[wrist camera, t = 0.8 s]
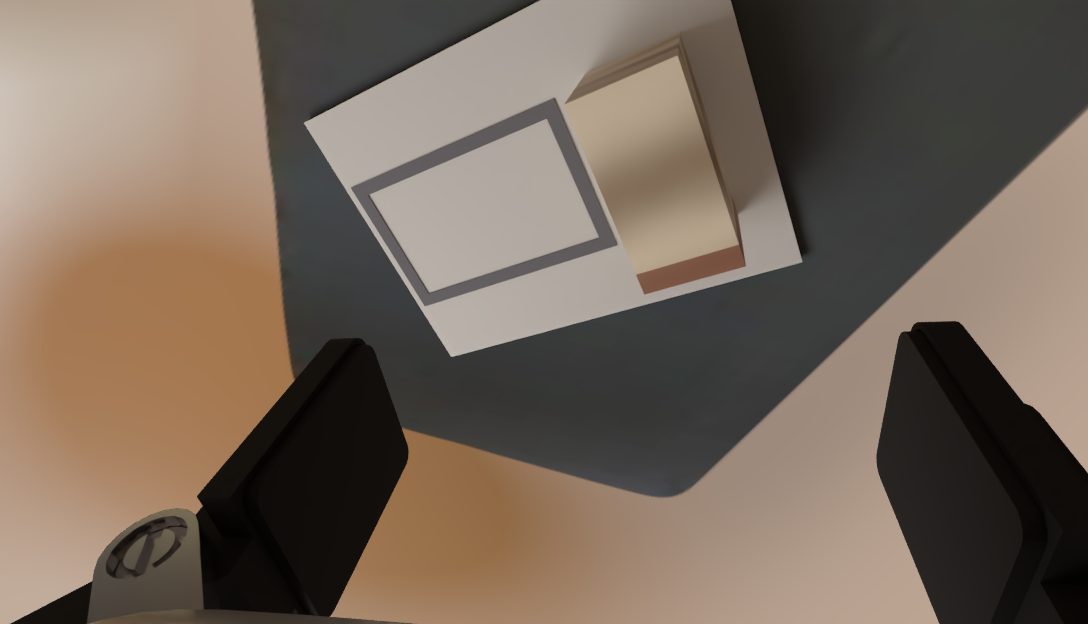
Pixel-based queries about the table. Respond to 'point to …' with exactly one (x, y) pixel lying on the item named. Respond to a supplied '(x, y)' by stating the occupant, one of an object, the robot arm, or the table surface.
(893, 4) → the table surface
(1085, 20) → the table surface
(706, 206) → the block
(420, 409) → the table surface
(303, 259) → the table surface
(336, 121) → the mat
